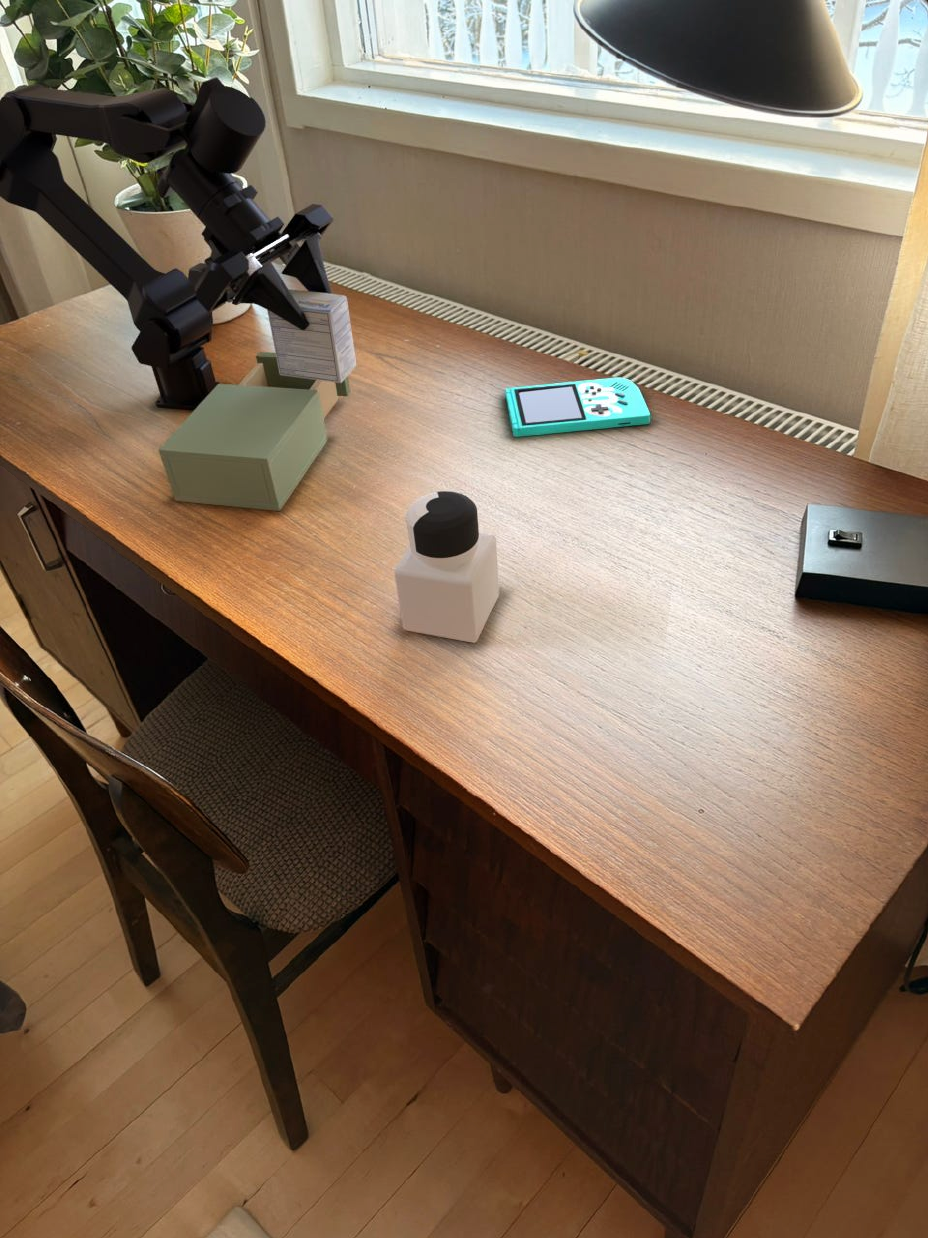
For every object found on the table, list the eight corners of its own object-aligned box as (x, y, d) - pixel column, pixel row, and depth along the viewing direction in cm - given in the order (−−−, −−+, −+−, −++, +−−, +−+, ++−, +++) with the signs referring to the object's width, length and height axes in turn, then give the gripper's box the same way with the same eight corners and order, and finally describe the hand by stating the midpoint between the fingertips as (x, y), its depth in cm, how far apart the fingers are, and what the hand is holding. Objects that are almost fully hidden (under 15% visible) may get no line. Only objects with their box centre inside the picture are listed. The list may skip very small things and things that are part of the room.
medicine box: (357, 367, 108) (348, 294, 103) (341, 385, 105) (330, 311, 100) (296, 359, 111) (284, 286, 105) (278, 376, 108) (264, 303, 102)
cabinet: (231, 432, 115) (218, 383, 110) (328, 440, 112) (318, 389, 107) (175, 500, 104) (158, 449, 100) (279, 511, 101) (266, 458, 97)
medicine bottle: (500, 594, 88) (494, 487, 80) (476, 645, 83) (467, 536, 75) (429, 582, 90) (416, 477, 82) (402, 631, 85) (385, 524, 78)
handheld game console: (650, 424, 109) (651, 414, 108) (513, 438, 109) (512, 428, 108) (633, 383, 116) (633, 373, 116) (504, 396, 116) (504, 386, 116)
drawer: (281, 369, 124) (274, 334, 121) (363, 374, 122) (357, 339, 118) (221, 441, 111) (211, 405, 108) (311, 448, 109) (303, 411, 106)
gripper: (243, 219, 112) (333, 323, 115) (133, 279, 100) (236, 393, 103) (285, 155, 104) (380, 269, 107) (170, 212, 92) (281, 339, 95)
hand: (320, 318), depth 103 cm, fingers closed on medicine box, 5 cm apart
